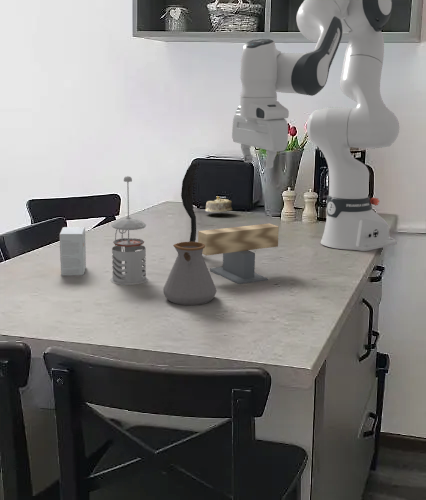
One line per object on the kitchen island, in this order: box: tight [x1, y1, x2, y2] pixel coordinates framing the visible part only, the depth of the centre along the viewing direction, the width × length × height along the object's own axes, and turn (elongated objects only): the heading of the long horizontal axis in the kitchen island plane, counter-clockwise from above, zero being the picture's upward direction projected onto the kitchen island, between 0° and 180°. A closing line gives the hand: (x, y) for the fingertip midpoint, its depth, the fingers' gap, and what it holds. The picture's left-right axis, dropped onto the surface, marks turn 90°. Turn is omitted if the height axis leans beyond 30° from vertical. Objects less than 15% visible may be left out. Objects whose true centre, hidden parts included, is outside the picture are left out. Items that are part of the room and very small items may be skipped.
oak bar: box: [197, 222, 279, 256], centre depth 180 cm, size 20×4×5 cm, turn 119°
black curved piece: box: [180, 161, 200, 242], centre depth 200 cm, size 8×4×25 cm, turn 166°
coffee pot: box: [162, 241, 217, 306], centre depth 155 cm, size 21×12×15 cm, turn 178°
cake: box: [204, 195, 234, 213], centre depth 265 cm, size 10×10×5 cm
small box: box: [59, 226, 87, 276], centre depth 183 cm, size 8×6×10 cm
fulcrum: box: [209, 250, 269, 285], centre depth 181 cm, size 8×14×7 cm, turn 29°
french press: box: [109, 175, 149, 286], centre depth 175 cm, size 10×12×25 cm
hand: (258, 165), depth 186 cm, fingers open, 8 cm apart
